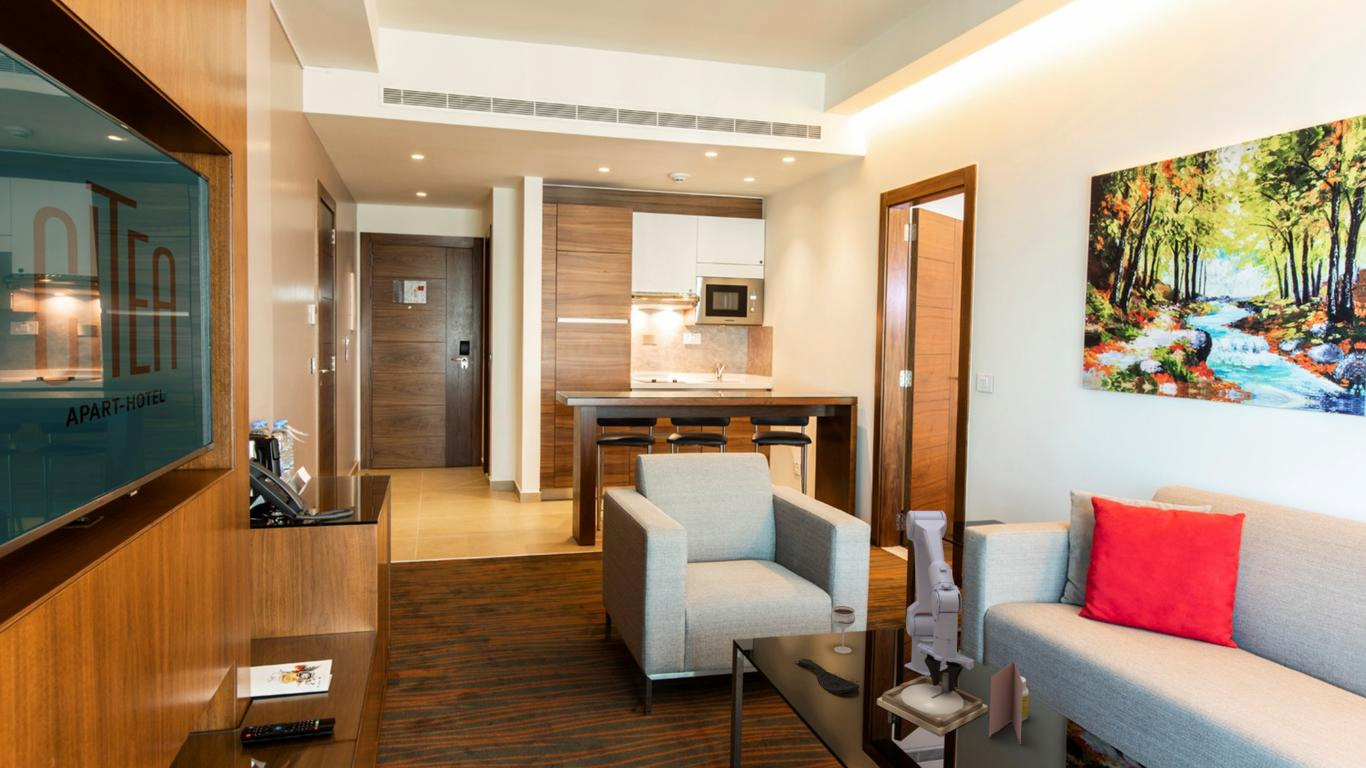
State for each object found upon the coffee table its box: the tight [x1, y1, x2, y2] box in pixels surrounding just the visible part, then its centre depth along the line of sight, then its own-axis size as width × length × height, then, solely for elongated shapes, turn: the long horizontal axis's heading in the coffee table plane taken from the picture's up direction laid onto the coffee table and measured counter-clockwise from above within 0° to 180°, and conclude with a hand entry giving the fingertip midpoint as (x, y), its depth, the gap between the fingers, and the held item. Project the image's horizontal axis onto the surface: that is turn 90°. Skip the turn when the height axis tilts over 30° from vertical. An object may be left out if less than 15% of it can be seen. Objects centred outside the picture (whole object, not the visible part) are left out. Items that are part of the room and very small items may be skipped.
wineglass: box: [831, 605, 856, 654], centre depth 242 cm, size 7×7×12 cm
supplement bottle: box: [1020, 675, 1030, 720], centre depth 204 cm, size 5×5×10 cm
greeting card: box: [988, 661, 1023, 745], centre depth 195 cm, size 11×7×15 cm, turn 133°
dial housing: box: [876, 675, 989, 737], centre depth 208 cm, size 19×19×3 cm
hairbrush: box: [798, 658, 861, 694], centre depth 225 cm, size 8×4×25 cm
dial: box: [901, 672, 964, 717], centre depth 208 cm, size 15×15×5 cm
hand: (943, 687), depth 212 cm, fingers open, 4 cm apart
